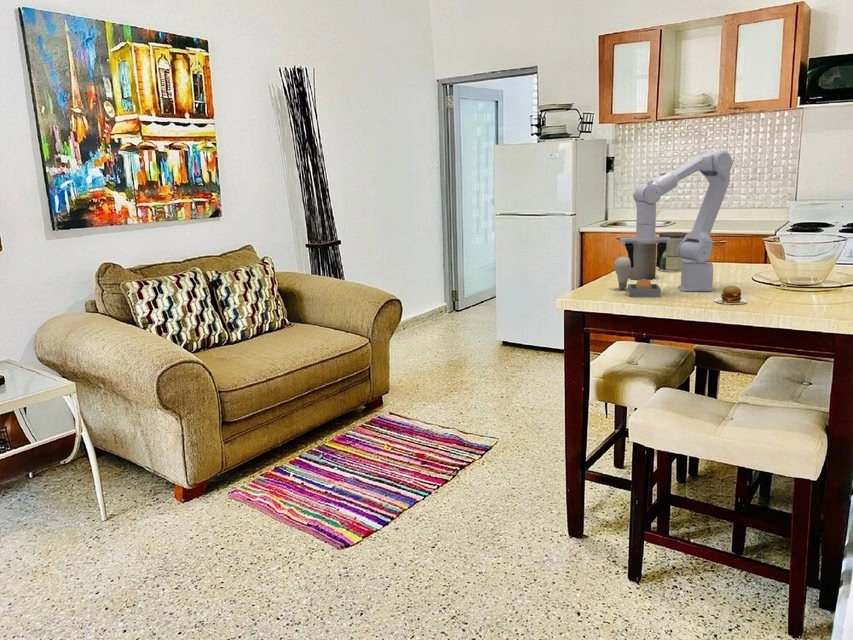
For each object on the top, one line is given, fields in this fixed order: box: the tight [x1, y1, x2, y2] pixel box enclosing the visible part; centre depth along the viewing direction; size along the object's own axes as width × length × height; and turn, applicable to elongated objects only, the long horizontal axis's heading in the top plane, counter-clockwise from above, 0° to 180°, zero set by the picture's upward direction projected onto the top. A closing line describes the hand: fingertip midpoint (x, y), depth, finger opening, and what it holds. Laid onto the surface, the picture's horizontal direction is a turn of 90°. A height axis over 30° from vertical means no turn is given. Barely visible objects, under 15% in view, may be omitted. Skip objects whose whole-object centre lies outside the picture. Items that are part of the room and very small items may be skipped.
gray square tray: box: [627, 283, 662, 298], centre depth 211 cm, size 9×9×2 cm
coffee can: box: [657, 231, 689, 273], centre depth 254 cm, size 10×10×14 cm
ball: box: [635, 279, 653, 289], centre depth 211 cm, size 5×5×5 cm
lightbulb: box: [613, 256, 632, 290], centre depth 220 cm, size 6×6×11 cm
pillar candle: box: [627, 241, 657, 281], centre depth 239 cm, size 10×10×15 cm
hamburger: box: [714, 285, 748, 306], centre depth 195 cm, size 12×12×6 cm
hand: (644, 266), depth 210 cm, fingers open, 7 cm apart
